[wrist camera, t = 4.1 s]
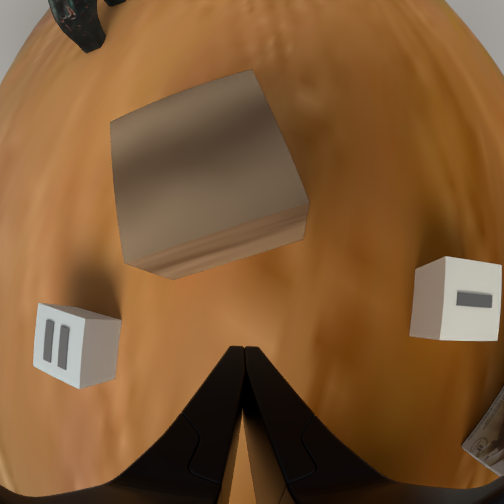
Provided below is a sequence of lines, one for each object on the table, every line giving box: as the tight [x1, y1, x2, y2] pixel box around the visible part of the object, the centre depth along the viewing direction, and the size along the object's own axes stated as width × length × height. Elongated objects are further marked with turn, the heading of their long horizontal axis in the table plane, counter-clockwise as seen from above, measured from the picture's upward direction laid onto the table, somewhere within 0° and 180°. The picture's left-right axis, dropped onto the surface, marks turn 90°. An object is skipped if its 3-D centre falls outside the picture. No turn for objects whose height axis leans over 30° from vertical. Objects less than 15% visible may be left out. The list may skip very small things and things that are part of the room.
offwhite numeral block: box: [409, 256, 502, 341], centre depth 17 cm, size 5×5×5 cm
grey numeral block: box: [33, 303, 122, 389], centre depth 19 cm, size 5×5×5 cm
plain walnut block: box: [110, 69, 310, 280], centre depth 20 cm, size 10×10×8 cm
